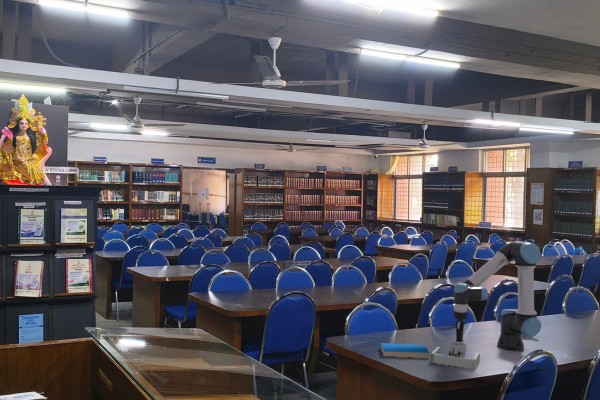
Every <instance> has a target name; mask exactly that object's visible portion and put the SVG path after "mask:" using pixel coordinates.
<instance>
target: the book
mask: <svg viewBox="0 0 600 400" xmlns="http://www.w3.org/2000/svg"><path fill="white" fill-rule="evenodd" d="M380 351H381V353H382V352H383V353H382V355H383V357H384V356H393V357H392V358H407V357H413V358H414V359H430V350H428V348H427V347H426V346H425V344H414V343H413V344H412V343H411V344H410V343H388V342H381V343H380ZM394 356H396V357H394ZM413 358H412V359H413Z"/></svg>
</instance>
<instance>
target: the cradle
mask: <svg viewBox="0 0 600 400" xmlns="http://www.w3.org/2000/svg"><path fill="white" fill-rule="evenodd" d="M480 355H481V352H479V351H477V352H475V355H474V357H473V358H470V357H469V358H468V357H464V358H463V357H456V356H449V355H448V354H442V353H441V346H436V348H435V349H433V350H432V352H431V353H430V364H434V363H436V364H435V365H441V364H444V365H443V366H448V365H451V366H450V367H454V366H458V367H457V368H461V367H464V368H463V369H468V368H470V370H474V369H475V370H476V369H477V367H478V366H477V365H479V364H480V360H481V356H480ZM478 363H479V364H478Z"/></svg>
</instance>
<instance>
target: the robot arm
mask: <svg viewBox="0 0 600 400" xmlns="http://www.w3.org/2000/svg"><path fill="white" fill-rule="evenodd" d="M541 255H542V253H541V250H540V248H539V247H538V246H537V245H536V244H534V243H532V242H525V241H516V240H515V241H511V242H509V243H507V244H505V245H504V246H502V247H500V248H499V249H498V250H497V251H496V252H495V255H494V256H493V257H492V258H490V259H489V260H488V261H486V263H484V264H483V265H482V266H480V268H478V270H477V271H475V272H474V273H472V275H470V276H469V277H468V278H467V279H465V280H464V281H463V282H458V283H455V284H454V290H453V293H454V294H453V304H452V306H453V318H454V319H456V322H455V328H456V329H455V332H456V337H455V338H456V339H455V341H457V342H464V341H465V340H464V329H465V326H464V325H465V321H464V320H467V319H468V309H469V301H481V302H482V301H486V300H487V299H488V297H489V291H488V289H487V288H486V287H484V286H481V285H483V284H484V283H485V282H486V281H487V280H489V279H490V278H491V277H492V276H494V274H496V273H497V272H498V271H499V270H500V269H501V268H503V267H504V266H505V265H506V266H507V265H509V264H511V262H514V266H515V267H516V268H517V309H515V308H514V309H513V308H512V309H511V308H510V309H509V308H507V309H505V308H504V309H502V310H501V311H500V312H501V314H500V335H499V337H498V340H497V343H496V344H497V345H496V346H497V347H498V348H500V349H503V350H506V351H507V350H508V351H523V350H524V349H525V345H524V340H523V338H522V336H523V335H524V337H529V338H533V337H535V336H537V335H538V334H539V333H540V331H541V330H542V323H541V320H540V319H539V318H538V313H537V311H536V310H535V285H534V284H535V283H534V282H535V280H534V279H535V278H534V276H535V273H534V271H535V270H534V269H535V268H536V267H537V263H538V262H540V259H541ZM521 334H522V335H521Z"/></svg>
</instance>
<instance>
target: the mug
mask: <svg viewBox="0 0 600 400" xmlns="http://www.w3.org/2000/svg"><path fill="white" fill-rule="evenodd" d="M467 347H468V345H467V343H466V342H464V341H462V342H457V341H456V340H454V341H452V340H451V341H450V340H449V341H446V348H447V355H449V356H456V357H463V358H466V351H467Z"/></svg>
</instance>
